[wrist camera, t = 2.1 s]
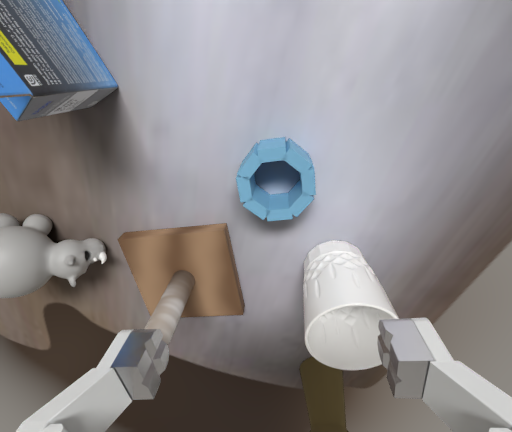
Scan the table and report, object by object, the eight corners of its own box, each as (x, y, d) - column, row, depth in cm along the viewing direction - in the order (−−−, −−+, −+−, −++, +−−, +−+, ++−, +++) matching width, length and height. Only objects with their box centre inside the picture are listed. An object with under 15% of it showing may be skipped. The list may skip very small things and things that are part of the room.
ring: (308, 133, 25) (312, 142, 22) (312, 200, 28) (316, 216, 25) (237, 143, 26) (231, 153, 23) (248, 206, 29) (244, 223, 26)
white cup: (295, 238, 30) (300, 307, 21) (370, 231, 29) (409, 300, 20) (301, 293, 34) (308, 371, 25) (369, 288, 33) (401, 369, 24)
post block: (226, 223, 30) (205, 281, 22) (244, 305, 35) (233, 378, 27) (124, 232, 32) (67, 290, 23) (156, 309, 37) (119, 379, 29)
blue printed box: (15, 4, 22) (-238, -60, 12) (47, -26, 21) (-198, -129, 10) (90, 108, 26) (-50, 135, 15) (122, 87, 25) (-5, 99, 14)
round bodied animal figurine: (112, 257, 37) (102, 307, 30) (-2, 257, 33) (-44, 317, 26) (111, 210, 34) (100, 256, 27) (-17, 204, 29) (-69, 256, 22)
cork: (315, 349, 38) (327, 445, 28) (351, 366, 39) (374, 464, 29) (291, 372, 41) (294, 466, 31) (325, 387, 42) (338, 483, 32)
